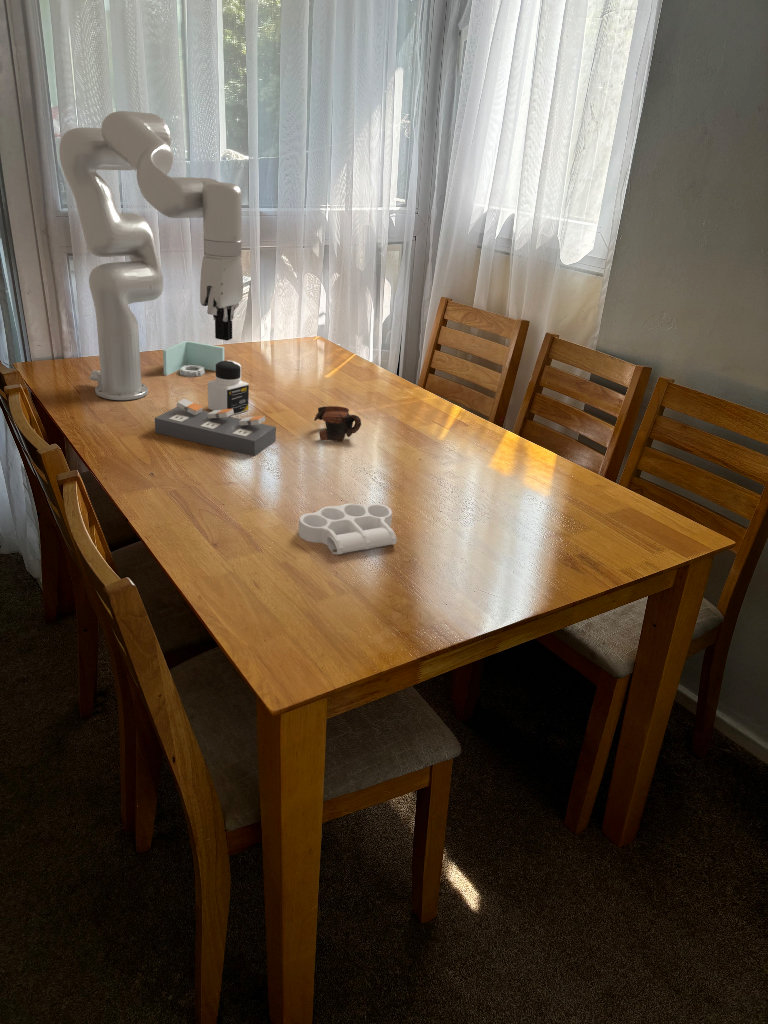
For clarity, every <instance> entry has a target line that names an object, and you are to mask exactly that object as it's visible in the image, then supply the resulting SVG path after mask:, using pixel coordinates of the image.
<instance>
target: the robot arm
mask: <svg viewBox="0 0 768 1024" xmlns="http://www.w3.org/2000/svg"><path fill="white" fill-rule="evenodd" d="M171 143H172V136H171V131H170V128H169V126H168V124H167V123H166V122H165V121H164V119H163V118H161V116H159V115H157V114H155V113H149V112H139V111H129V110H127V111H126V110H121V111H120V110H117V111H114V112H112V113H109V114H108V115H107V116H105V118H104V119H103V120H102V123H101V126H100V127H76V128H72V129H69V130H67V131H65V133H63V135H62V137H61V139H60V142H59V148H58V149H59V150H58V151H59V160H60V166H61V168H62V171H63V175H64V177H65V179H66V180H67V183H68V186H69V187H70V190H71V192H72V194H73V198H74V201H75V204H76V210H77V212H78V216H79V222H80V225H81V229H82V234H83V237H84V241H85V243H86V247H87V249H88V251H89V252H90V253H91V255H94V256H96V257H100V258H111V257H112V258H113V257H114V258H115V257H126V256H127V257H129V260H130V261H118V262H117V261H116V262H107V263H102V264H99V265H97V266H95V267H94V268H92V269H91V271H90V273H89V277H88V285H89V290H90V294H91V297H92V301H93V305H94V311H95V320H96V331H97V344H98V356H99V370H96V369H93V370H92V371H91V374H90V375H89V380H91V381H96V382H97V385H96V386H95V389H94V390H95V395H97V396H98V397H99V398H100V397H101V398H102V399H106V400H111V401H132V400H137V399H141V398H143V397H145V396H147V394H148V393H149V388H148V386H147V385H146V384H144V383H142V372H141V371H142V369H141V354H140V353H141V352H140V351H141V348H140V332H139V322H138V320H137V317H136V316H135V314H134V313H133V311H132V310H131V309H130V307H129V304H136V303H143V302H150V301H153V300H157V299H158V298H159V297H160V296H162V294H163V290H164V277H163V273H162V268H161V264H160V262H161V261H160V259H159V255H158V249H157V246H156V241H155V237H154V233H153V230H152V228H151V226H150V224H149V222H148V221H147V220H146V219H145V218H144V217H143V216H141V215H139V214H138V213H137V214H136V213H130V212H129V213H128V212H126V213H125V212H123V213H120V212H119V211H118V209H117V205H116V201H115V197H114V194H113V191H112V190H111V188H110V186H109V185H108V183H107V182H106V181H105V180H104V178H103V177H102V176H101V175H99V174H98V172H97V171H98V170H99V171H100V170H101V171H106V170H107V171H134V170H135V172H136V180H137V185H138V188H139V191H140V193H141V195H142V197H143V198H144V199H145V200H146V202H148V204H150V205H151V206H152V207H153V208H154V209H155V210H156V211H158V212H159V213H160V214H161V215H163V216H166V217H168V218H171V219H188V218H189V219H193V218H198V219H199V218H202V227H203V228H202V231H203V235H202V236H203V256H202V261H201V266H200V268H201V269H200V270H201V271H200V285H199V303H200V305H201V306H203V307H207V310H206V313H207V315H212V317H213V320H214V329H215V330H214V333H215V334H214V335H215V336H214V337H215V339H216V340H222V341H230V340H232V339H233V320H234V317H235V316H234V315H235V310H236V309H237V308H238V307H240V306H239V305H240V303H241V302H242V300H243V297H244V276H243V266H242V264H243V263H242V254H243V253H242V250H243V249H242V246H243V245H242V234H243V233H242V232H243V231H242V189H241V188H240V186H238V185H237V184H235V183H229V182H222V181H221V182H220V181H218V180H216V179H213V178H210V177H209V178H208V177H191V176H190V177H188V176H185V177H184V176H183V177H172V176H169V175H168V174H169V172H170V171H171V169H172V166H173V164H174V153H173V150H172V148H171Z"/></svg>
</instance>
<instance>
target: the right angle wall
mask: <svg viewBox="0 0 768 1024" xmlns="http://www.w3.org/2000/svg"><path fill="white" fill-rule="evenodd" d="M162 360H163V362H162V363H163V376H165V377H166V376H169V375H171V374H173V373H175V372H177V371H179V374H180V375H181V376H183V377H187V378H192V377H195V378H196V377H203V375H205V373H206V371H205V370H208V371H213V372H216V364H217V363H218V362H221V361H225V347H224V346H221V345H215V344H214V345H213V344H208V343H202V342H197V341H190V340H183V341H181V342H178V343H177V344H174V345H171V346H169V347H167V348H165V349H163V350H162Z"/></svg>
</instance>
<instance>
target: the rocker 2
mask: <svg viewBox="0 0 768 1024" xmlns="http://www.w3.org/2000/svg"><path fill="white" fill-rule="evenodd" d="M209 412H210V413H208V414H207V415H208V418H223V417H228V416H230V415H231V416H233V415H232V414H234V411H233V409H223V410H214V411H212V410H211V411H209ZM231 416H230V417H231Z"/></svg>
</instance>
